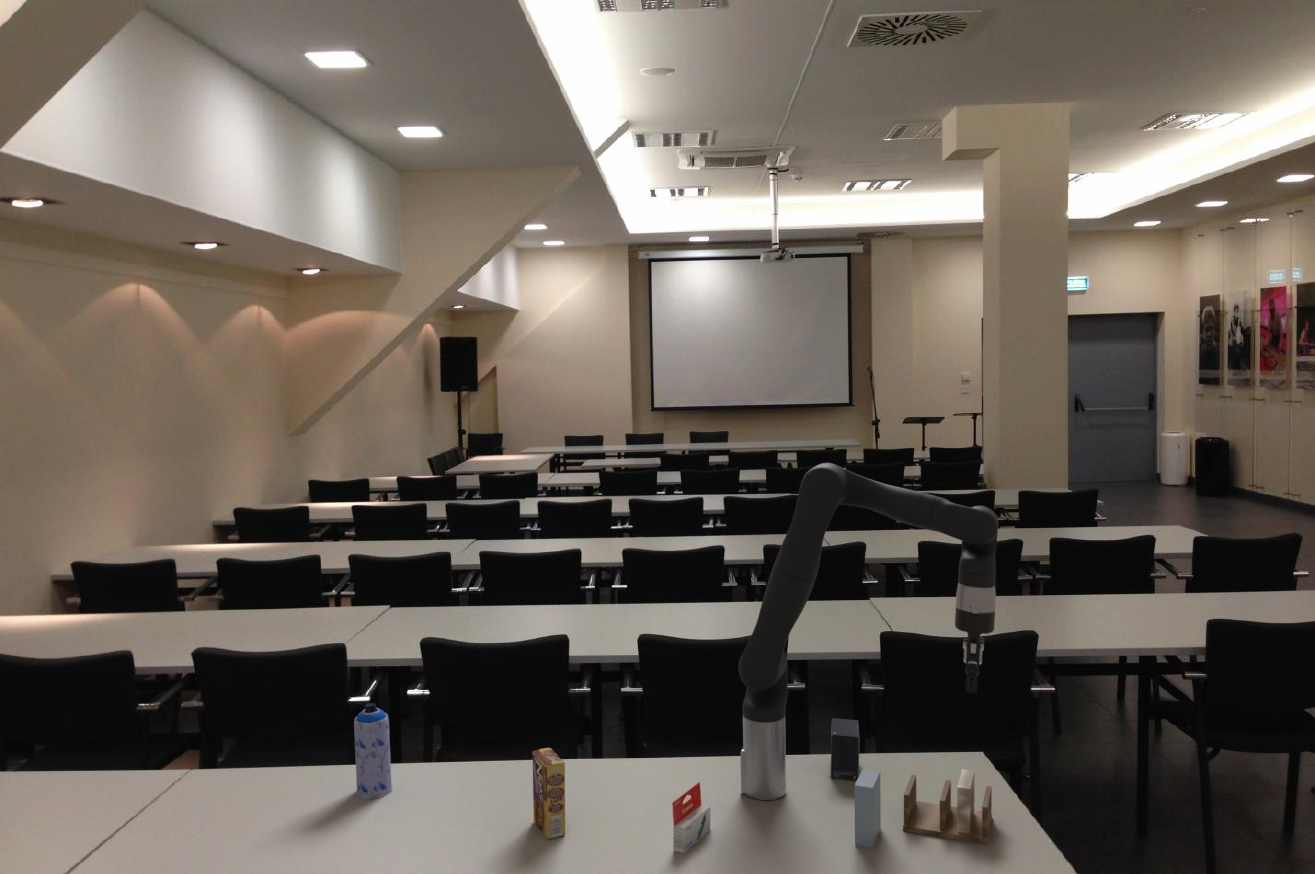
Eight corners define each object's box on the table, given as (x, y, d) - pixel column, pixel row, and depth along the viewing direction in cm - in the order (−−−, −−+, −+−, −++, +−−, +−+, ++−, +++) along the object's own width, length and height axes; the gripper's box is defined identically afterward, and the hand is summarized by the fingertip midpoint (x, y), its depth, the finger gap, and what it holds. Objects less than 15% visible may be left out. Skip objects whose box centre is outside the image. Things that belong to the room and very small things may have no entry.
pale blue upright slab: (855, 844, 186) (854, 785, 185) (863, 826, 193) (862, 768, 193) (873, 847, 185) (872, 787, 184) (880, 829, 192) (880, 771, 191)
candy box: (567, 835, 192) (565, 762, 191) (547, 840, 190) (545, 766, 189) (552, 817, 200) (550, 746, 199) (533, 822, 198) (530, 750, 197)
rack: (902, 830, 191) (902, 782, 191) (912, 804, 202) (912, 759, 201) (986, 844, 185) (987, 795, 184) (991, 817, 196) (992, 770, 195)
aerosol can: (400, 788, 216) (396, 702, 214) (372, 801, 209) (368, 713, 208) (376, 780, 220) (372, 696, 219) (348, 794, 213) (344, 706, 212)
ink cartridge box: (711, 830, 193) (710, 783, 192) (683, 855, 184) (682, 805, 183) (700, 827, 194) (699, 781, 194) (672, 851, 185) (671, 803, 184)
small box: (859, 781, 214) (859, 736, 213) (830, 779, 215) (829, 734, 215) (859, 762, 225) (859, 719, 224) (831, 760, 226) (830, 717, 225)
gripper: (956, 597, 198) (952, 673, 199) (954, 612, 185) (950, 694, 186) (994, 600, 196) (990, 678, 197) (995, 616, 183) (991, 699, 184)
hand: (971, 685), depth 192 cm, fingers open, 8 cm apart
